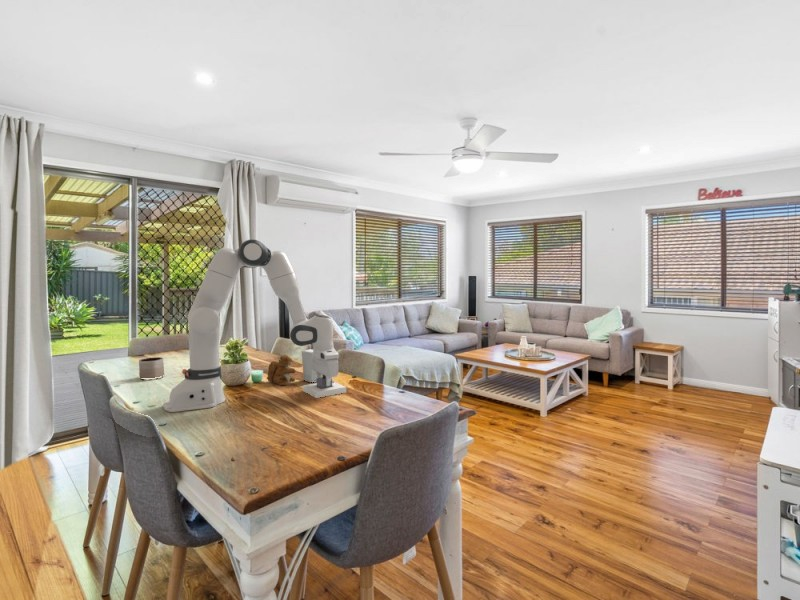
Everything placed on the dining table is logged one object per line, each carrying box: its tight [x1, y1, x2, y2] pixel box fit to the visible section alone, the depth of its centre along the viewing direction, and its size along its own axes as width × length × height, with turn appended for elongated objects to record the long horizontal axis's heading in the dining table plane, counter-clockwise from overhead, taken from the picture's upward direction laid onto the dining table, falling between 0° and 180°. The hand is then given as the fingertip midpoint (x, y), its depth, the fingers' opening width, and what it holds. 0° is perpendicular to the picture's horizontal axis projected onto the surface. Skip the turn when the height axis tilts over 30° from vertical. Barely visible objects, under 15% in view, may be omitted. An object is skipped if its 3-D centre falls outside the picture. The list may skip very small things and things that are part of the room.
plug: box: [316, 374, 333, 389], centre depth 193 cm, size 5×5×8 cm
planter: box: [138, 356, 165, 379], centre depth 223 cm, size 11×11×10 cm
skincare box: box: [301, 348, 318, 384], centre depth 213 cm, size 8×6×15 cm
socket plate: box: [302, 379, 347, 399], centre depth 193 cm, size 14×14×3 cm
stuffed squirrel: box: [266, 354, 296, 387], centre depth 210 cm, size 10×14×13 cm
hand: (324, 383), depth 193 cm, fingers open, 6 cm apart
